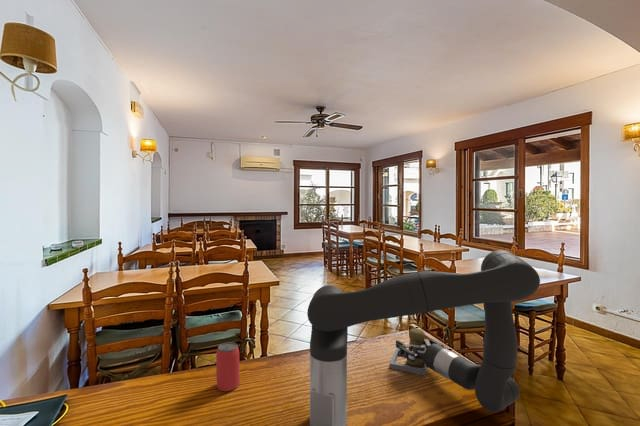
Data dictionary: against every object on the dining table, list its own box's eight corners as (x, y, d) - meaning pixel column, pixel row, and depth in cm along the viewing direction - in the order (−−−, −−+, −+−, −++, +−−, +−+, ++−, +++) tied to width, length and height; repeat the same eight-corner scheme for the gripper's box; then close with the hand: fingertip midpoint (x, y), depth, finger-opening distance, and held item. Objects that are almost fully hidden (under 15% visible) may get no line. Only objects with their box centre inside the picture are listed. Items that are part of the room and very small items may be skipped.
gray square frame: (426, 375, 98) (426, 370, 98) (389, 367, 103) (389, 363, 103) (429, 358, 109) (429, 354, 109) (395, 352, 114) (396, 348, 113)
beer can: (211, 388, 92) (211, 348, 91) (227, 377, 97) (227, 339, 97) (228, 395, 89) (228, 353, 88) (244, 383, 94) (243, 344, 94)
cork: (426, 367, 102) (427, 334, 102) (407, 365, 104) (408, 332, 103) (424, 358, 108) (425, 327, 108) (406, 356, 110) (407, 325, 109)
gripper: (460, 344, 96) (421, 326, 111) (426, 354, 90) (389, 333, 104) (460, 368, 96) (421, 347, 111) (426, 380, 90) (389, 356, 104)
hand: (406, 340), depth 107 cm, fingers open, 8 cm apart
